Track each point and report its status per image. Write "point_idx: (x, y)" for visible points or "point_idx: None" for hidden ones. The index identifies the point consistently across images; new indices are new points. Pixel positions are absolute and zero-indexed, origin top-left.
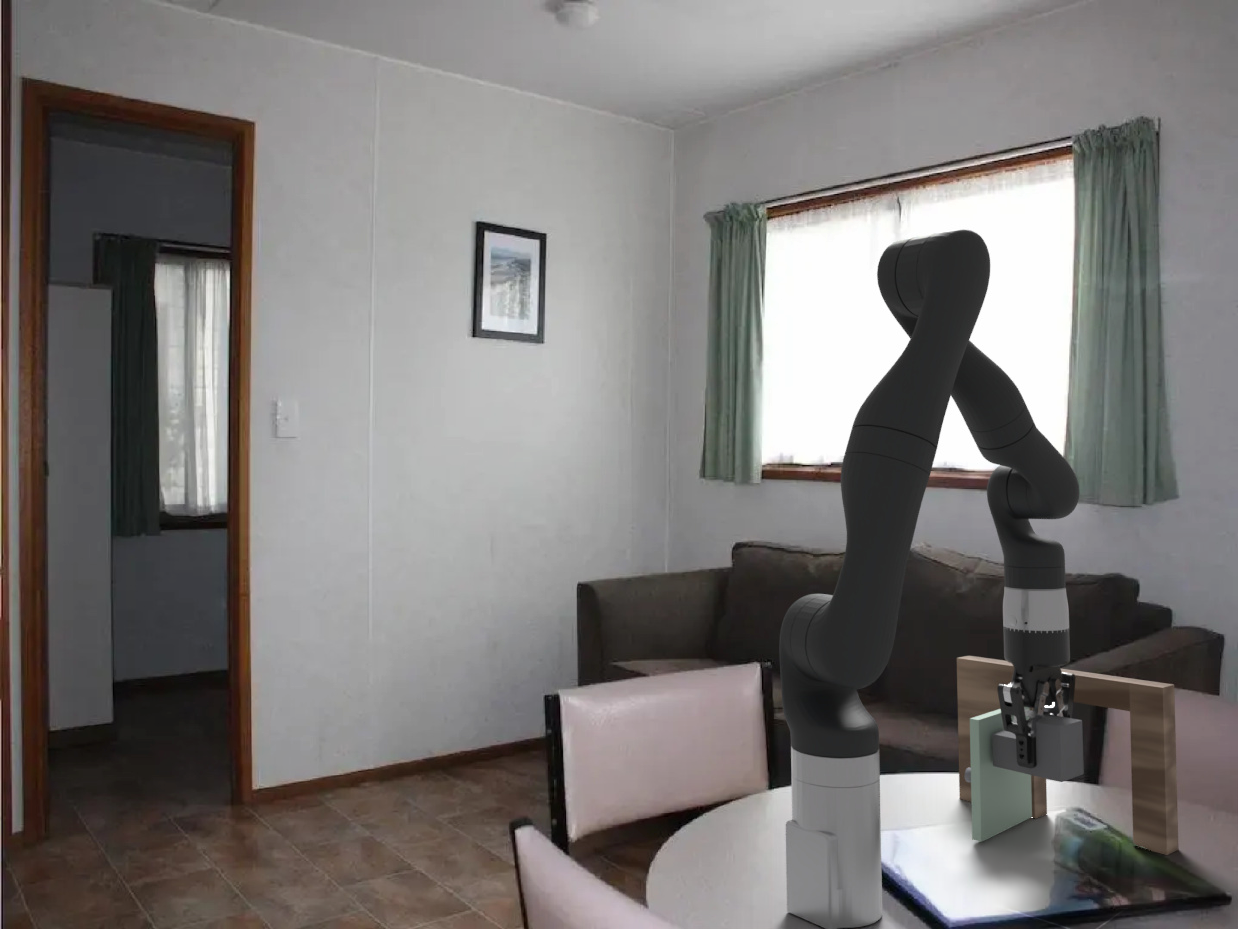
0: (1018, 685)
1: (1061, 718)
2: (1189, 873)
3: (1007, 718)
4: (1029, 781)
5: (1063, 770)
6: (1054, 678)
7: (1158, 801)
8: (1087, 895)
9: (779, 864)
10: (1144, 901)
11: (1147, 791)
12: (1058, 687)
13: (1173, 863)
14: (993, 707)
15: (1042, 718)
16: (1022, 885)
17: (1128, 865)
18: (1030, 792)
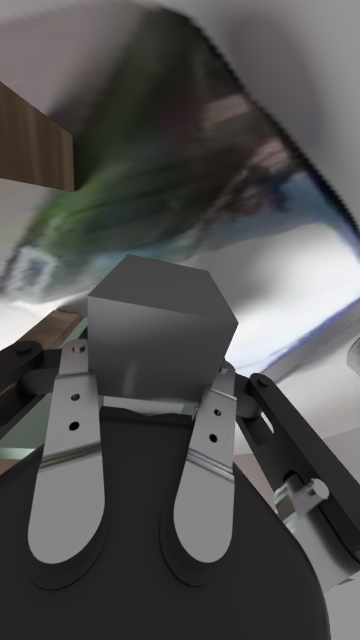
0: (329, 565)
1: (114, 353)
2: (114, 82)
3: (263, 431)
4: (71, 339)
5: (202, 275)
6: (57, 570)
7: (23, 117)
8: (271, 194)
9: (303, 402)
10: (260, 120)
11: (16, 142)
12: (76, 481)
13: (90, 119)
14: (5, 466)
15: (154, 387)
16: (271, 262)
17: (143, 179)
18: (75, 331)
